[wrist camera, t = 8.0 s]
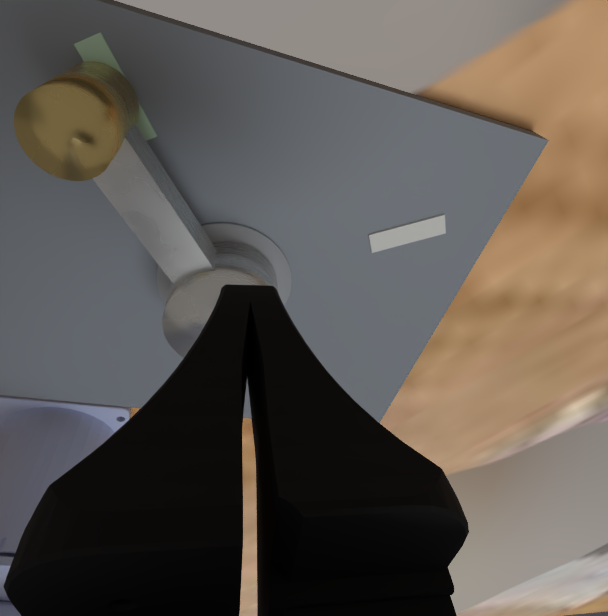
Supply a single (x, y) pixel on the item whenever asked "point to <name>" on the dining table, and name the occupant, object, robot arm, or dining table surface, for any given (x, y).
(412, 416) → the dining table surface
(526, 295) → the dining table surface
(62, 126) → the lever
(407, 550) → the robot arm
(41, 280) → the stand base
